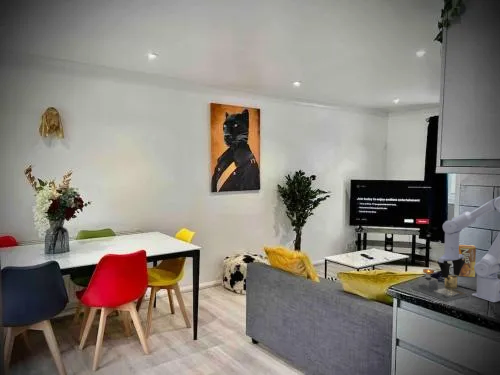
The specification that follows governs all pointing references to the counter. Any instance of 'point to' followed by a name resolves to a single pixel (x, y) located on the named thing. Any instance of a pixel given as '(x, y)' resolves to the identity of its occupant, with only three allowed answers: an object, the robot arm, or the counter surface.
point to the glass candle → (451, 282)
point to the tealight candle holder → (428, 273)
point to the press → (437, 289)
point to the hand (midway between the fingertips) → (450, 276)
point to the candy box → (468, 260)
